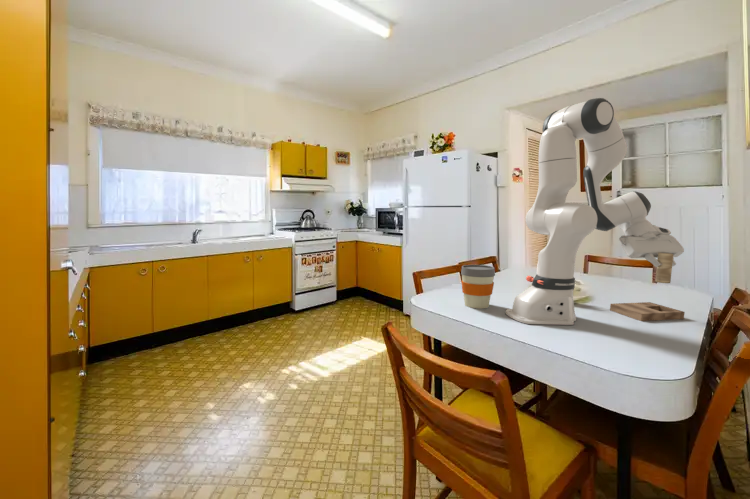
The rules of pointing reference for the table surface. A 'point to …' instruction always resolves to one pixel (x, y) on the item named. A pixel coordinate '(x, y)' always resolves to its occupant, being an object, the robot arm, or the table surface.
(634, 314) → the pin board
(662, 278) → the pin
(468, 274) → the reusable coffee cup
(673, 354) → the table surface
